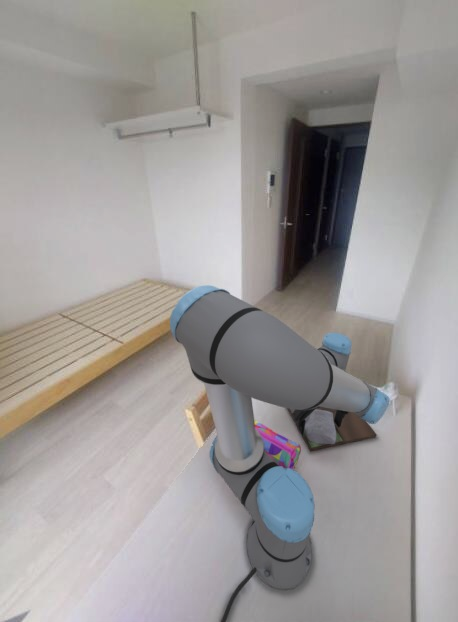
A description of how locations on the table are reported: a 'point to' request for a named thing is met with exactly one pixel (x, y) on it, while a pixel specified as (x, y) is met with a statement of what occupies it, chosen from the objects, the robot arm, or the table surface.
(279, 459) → the pencil case
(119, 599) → the table surface
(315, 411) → the stone block
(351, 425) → the board
